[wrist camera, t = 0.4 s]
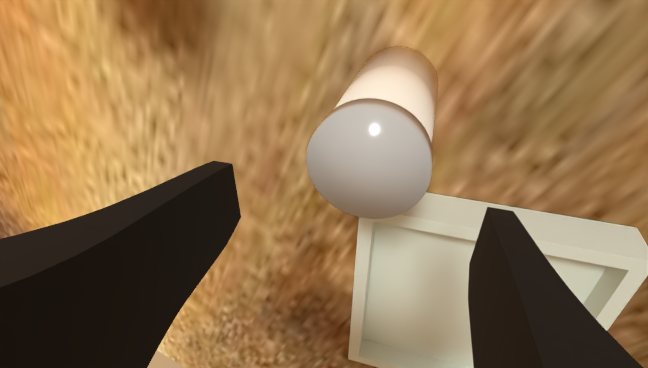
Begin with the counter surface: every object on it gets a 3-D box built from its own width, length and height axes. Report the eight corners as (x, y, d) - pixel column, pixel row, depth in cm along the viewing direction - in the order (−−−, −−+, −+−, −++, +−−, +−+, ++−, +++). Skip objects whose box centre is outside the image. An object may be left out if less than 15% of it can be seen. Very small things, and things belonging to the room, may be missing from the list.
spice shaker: (448, 48, 17) (442, 119, 11) (432, 130, 19) (420, 229, 13) (358, 40, 18) (304, 102, 12) (353, 120, 20) (307, 207, 14)
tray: (636, 227, 19) (657, 262, 17) (539, 379, 28) (545, 414, 26) (368, 182, 22) (359, 207, 20) (355, 331, 31) (347, 359, 29)
